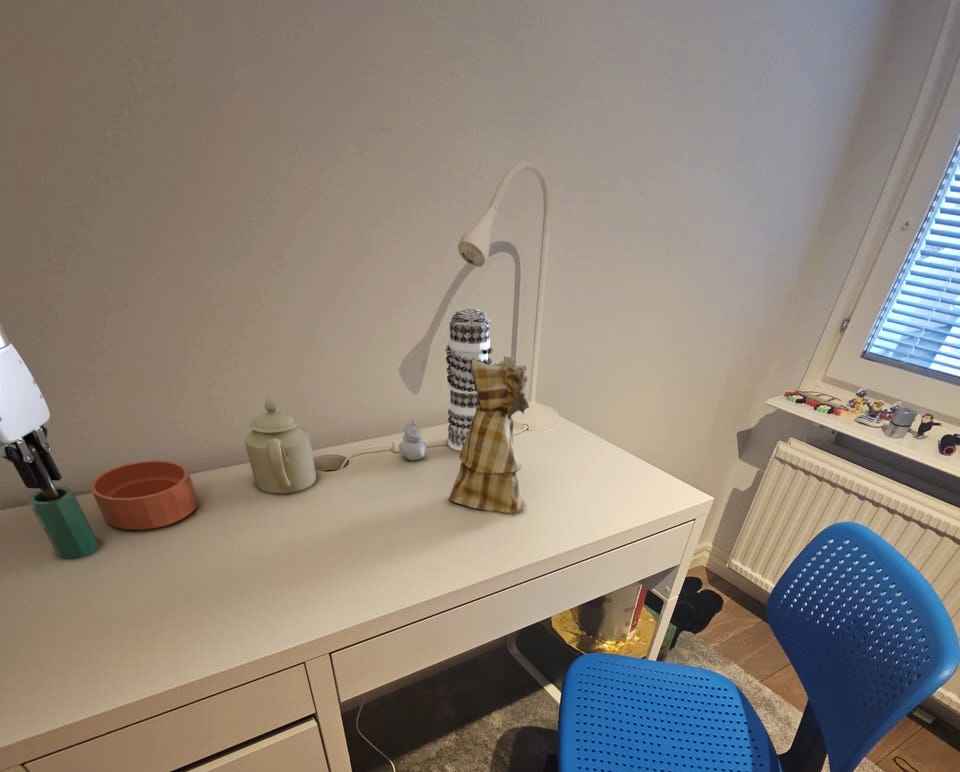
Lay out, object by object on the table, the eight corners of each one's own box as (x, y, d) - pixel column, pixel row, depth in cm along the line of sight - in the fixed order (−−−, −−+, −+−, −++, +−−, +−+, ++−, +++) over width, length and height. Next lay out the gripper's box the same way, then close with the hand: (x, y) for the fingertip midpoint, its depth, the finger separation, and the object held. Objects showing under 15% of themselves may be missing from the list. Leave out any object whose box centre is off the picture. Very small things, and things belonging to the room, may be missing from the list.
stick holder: (50, 558, 83) (18, 503, 77) (70, 539, 87) (42, 485, 81) (86, 559, 83) (58, 504, 77) (105, 540, 87) (79, 487, 81)
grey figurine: (406, 465, 111) (404, 425, 105) (394, 453, 115) (391, 414, 110) (431, 461, 113) (430, 421, 107) (418, 449, 117) (416, 410, 112)
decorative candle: (475, 432, 125) (478, 304, 108) (497, 447, 119) (503, 314, 102) (439, 439, 121) (436, 308, 104) (459, 455, 115) (460, 319, 99)
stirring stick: (68, 549, 84) (13, 446, 74) (75, 542, 85) (22, 441, 75) (80, 549, 84) (27, 447, 74) (87, 543, 85) (35, 441, 75)
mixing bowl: (88, 532, 89) (71, 497, 85) (132, 491, 99) (118, 458, 95) (177, 535, 89) (164, 501, 85) (211, 494, 100) (201, 461, 96)
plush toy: (468, 466, 109) (465, 335, 88) (537, 479, 106) (550, 347, 86) (445, 513, 101) (436, 381, 81) (519, 528, 99) (528, 396, 78)
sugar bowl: (338, 490, 102) (325, 406, 92) (282, 508, 96) (262, 421, 86) (299, 463, 110) (283, 383, 100) (245, 478, 105) (223, 395, 95)
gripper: (-18, 321, 72) (51, 459, 84) (-119, 355, 60) (-21, 510, 72) (40, 323, 72) (101, 460, 84) (-49, 358, 60) (37, 512, 72)
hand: (44, 482), depth 78 cm, fingers closed on stirring stick
